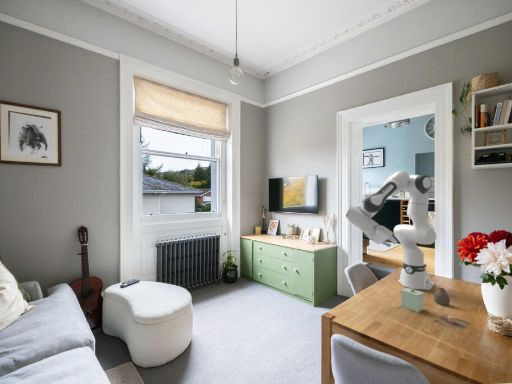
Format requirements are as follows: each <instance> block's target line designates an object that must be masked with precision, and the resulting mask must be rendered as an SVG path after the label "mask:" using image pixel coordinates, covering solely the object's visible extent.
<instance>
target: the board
mask: <svg viewBox="0 0 512 384" xmlns="http://www.w3.org/2000/svg"><path fill="white" fill-rule="evenodd" d="M447 315H448V314H446V313H445V314H443V315H441V316H439V317H437V318H436V319H434V323H435V322H436V323H438V324H439V325H440V324H441V325H443V326H445V327H448V328H451V329H454V330H456V331H459V332H461V331H462V330H464V329H465V328H466V327H468V326H469V325H471V322H468V321H467V320H463V319H460V318H457V320H456V324H452V323H450V322H448V317H447Z"/></svg>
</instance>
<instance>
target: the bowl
mask: <svg viewBox="0 0 512 384" xmlns="http://www.w3.org/2000/svg"><path fill="white" fill-rule="evenodd" d="M446 315H447V317H448V322H450V323H452V324H456V320H457V319H458V318H457V316H455V315H453V314H446Z"/></svg>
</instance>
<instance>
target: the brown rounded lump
mask: <svg viewBox="0 0 512 384" xmlns="http://www.w3.org/2000/svg"><path fill="white" fill-rule="evenodd" d="M433 299H434V303H436V304H438V305H440V306H444V307H445V306H449V305H450V303H451V297H450V295H449V293H448V292H447V291H446V289H445V288H443V287H438V289H437V290H436V291H434V294H433Z"/></svg>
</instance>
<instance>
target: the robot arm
mask: <svg viewBox="0 0 512 384" xmlns="http://www.w3.org/2000/svg"><path fill="white" fill-rule="evenodd" d="M431 186H432V180H431V178H430V177H429V175H427V174H410V175H409V173H407V171H404V170H397V171H395V172H393V173H392V174H390V175H389V176H388V177H387V178H386V179H385V180H384V181H383V182H382V184H381V186H380V189H379V190H378V191H376V192H374V193H371V194H368V195H366V197H365V198H364V200H363V201H362V203H360V204H359V205H355V206H351V207H349V209H348V211H347V212H346V215H345V217H346V219H347V220H348V222H350V223H351V224H352V225H353V226H355V227H356V228H358V229H360V231H361V232H363V235H364V237H366V238H368V239H369V240H370V241H372V242H374V243H375V244H377V245H380V244H382V245H384V246H386V247H387V248H390V247H391V246H392V244H393V245H396V244H398V242H399V243H400V245H401V249H402V252H403V253H402V254H403V262H402V269H401V270H400V275H399V276H400V277H399V279H398V283H400V284H401V285H402V286H404V287H406V288H410V289H411V288H412V289H414V290H425V291H430V290H431V289H432V288H433V287H434V286H435V282H433V281H431V275H430V274H429V273H428V272H427V271H426V268H427V264H426V263H425V262H424V261H425V254H424V251H423V250H421V248H419V247H418V245H417V244H419V245H432V244H434V243H435V242H436V240H437V234H436V232H435V230H434V229H433V228H432V227H431V225H430V224H429V220H428V210H429V202H430V198H429V196H430V195H429V190H430V189H431ZM401 192H402V193H410V194H409V198H408V203H407V208H406V216H407V217H408V218H409V219H410V220H411V221H412V224H406V223H403V224H402V223H401V224H397V225H395V226H394V228H393V231H392V230H391V229H389V228H387V227H385V226H384V225H380V224H379V223H377V222H376V221H375V220H373V217H374V216H375V215H376V214H378V212H380V211H381V210H382V208H383V207H384V205H385V202H386V200H387V199H388V198H389V197H395V196H396V195H398V194H399V193H401ZM393 235H394V237H395V238H396V239H397V240H398V241H397V240H396V239H395V238H394V237H393ZM387 240H389V241H391V243H392V244H391V243H390V242H387Z"/></svg>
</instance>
